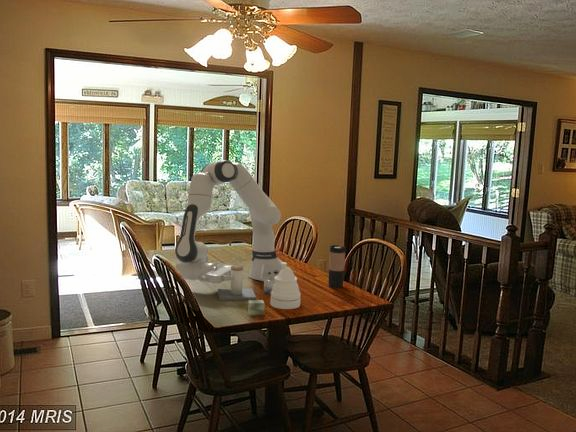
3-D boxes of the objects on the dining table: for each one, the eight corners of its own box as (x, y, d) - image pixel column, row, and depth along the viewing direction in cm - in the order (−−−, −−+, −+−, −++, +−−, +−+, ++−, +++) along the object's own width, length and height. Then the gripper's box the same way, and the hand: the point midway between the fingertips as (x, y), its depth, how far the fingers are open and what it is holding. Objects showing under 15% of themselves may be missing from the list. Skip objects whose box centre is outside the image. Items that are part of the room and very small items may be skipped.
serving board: (252, 290, 238) (252, 288, 238) (255, 299, 225) (255, 297, 224) (217, 291, 235) (218, 288, 235) (219, 300, 222) (219, 297, 222)
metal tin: (275, 290, 240) (276, 278, 239) (277, 294, 234) (278, 281, 234) (263, 290, 239) (263, 278, 238) (264, 294, 233) (265, 281, 232)
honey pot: (264, 303, 220) (265, 262, 218) (285, 298, 229) (287, 259, 226) (284, 311, 211) (286, 268, 208) (306, 305, 220) (308, 264, 217)
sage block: (262, 311, 209) (263, 300, 209) (264, 315, 205) (264, 303, 205) (248, 312, 208) (248, 300, 207) (249, 315, 204) (249, 303, 204)
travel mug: (330, 288, 247) (333, 248, 244) (325, 284, 254) (327, 245, 252) (345, 288, 249) (347, 248, 246) (340, 284, 256) (342, 245, 254)
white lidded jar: (241, 291, 233) (242, 265, 231) (242, 294, 228) (243, 268, 226) (229, 291, 232) (230, 265, 230) (230, 294, 227) (231, 268, 225)
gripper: (199, 270, 222) (228, 274, 218) (218, 261, 241) (245, 264, 237) (199, 284, 223) (228, 288, 219) (218, 274, 242) (245, 277, 238)
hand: (237, 275), depth 228 cm, fingers open, 8 cm apart
